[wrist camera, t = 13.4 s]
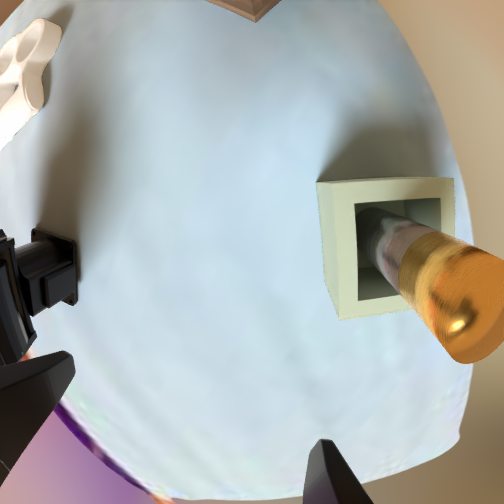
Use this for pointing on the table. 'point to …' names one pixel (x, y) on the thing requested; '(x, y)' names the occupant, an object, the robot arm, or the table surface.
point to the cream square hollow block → (345, 245)
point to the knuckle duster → (24, 75)
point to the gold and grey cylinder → (438, 280)
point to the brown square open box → (247, 7)
